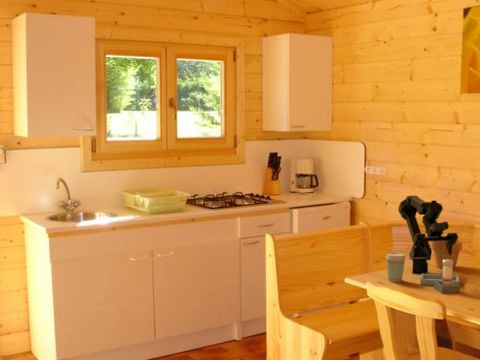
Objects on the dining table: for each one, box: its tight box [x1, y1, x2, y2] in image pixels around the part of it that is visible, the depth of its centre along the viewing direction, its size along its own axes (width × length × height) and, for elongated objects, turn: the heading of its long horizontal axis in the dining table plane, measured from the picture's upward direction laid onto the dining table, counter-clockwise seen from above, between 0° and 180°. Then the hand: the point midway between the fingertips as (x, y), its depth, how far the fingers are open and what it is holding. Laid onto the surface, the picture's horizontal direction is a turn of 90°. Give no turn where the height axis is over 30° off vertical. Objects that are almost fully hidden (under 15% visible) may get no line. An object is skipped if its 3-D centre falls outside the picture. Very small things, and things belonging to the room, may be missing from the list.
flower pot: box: [430, 239, 463, 270], centre depth 324 cm, size 14×14×13 cm
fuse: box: [442, 259, 453, 286], centre depth 281 cm, size 4×4×13 cm
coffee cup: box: [385, 252, 406, 283], centre depth 298 cm, size 8×8×12 cm
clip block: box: [433, 281, 461, 294], centre depth 281 cm, size 8×8×3 cm
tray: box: [419, 273, 460, 287], centre depth 294 cm, size 16×11×2 cm
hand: (440, 255), depth 288 cm, fingers open, 9 cm apart
